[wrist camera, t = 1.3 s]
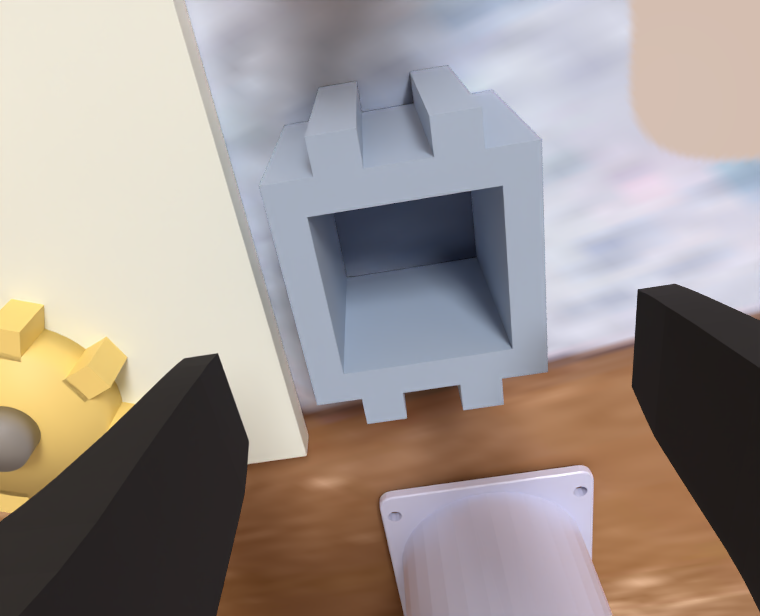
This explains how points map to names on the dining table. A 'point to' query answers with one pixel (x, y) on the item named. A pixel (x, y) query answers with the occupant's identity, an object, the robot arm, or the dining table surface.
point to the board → (120, 237)
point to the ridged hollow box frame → (417, 284)
